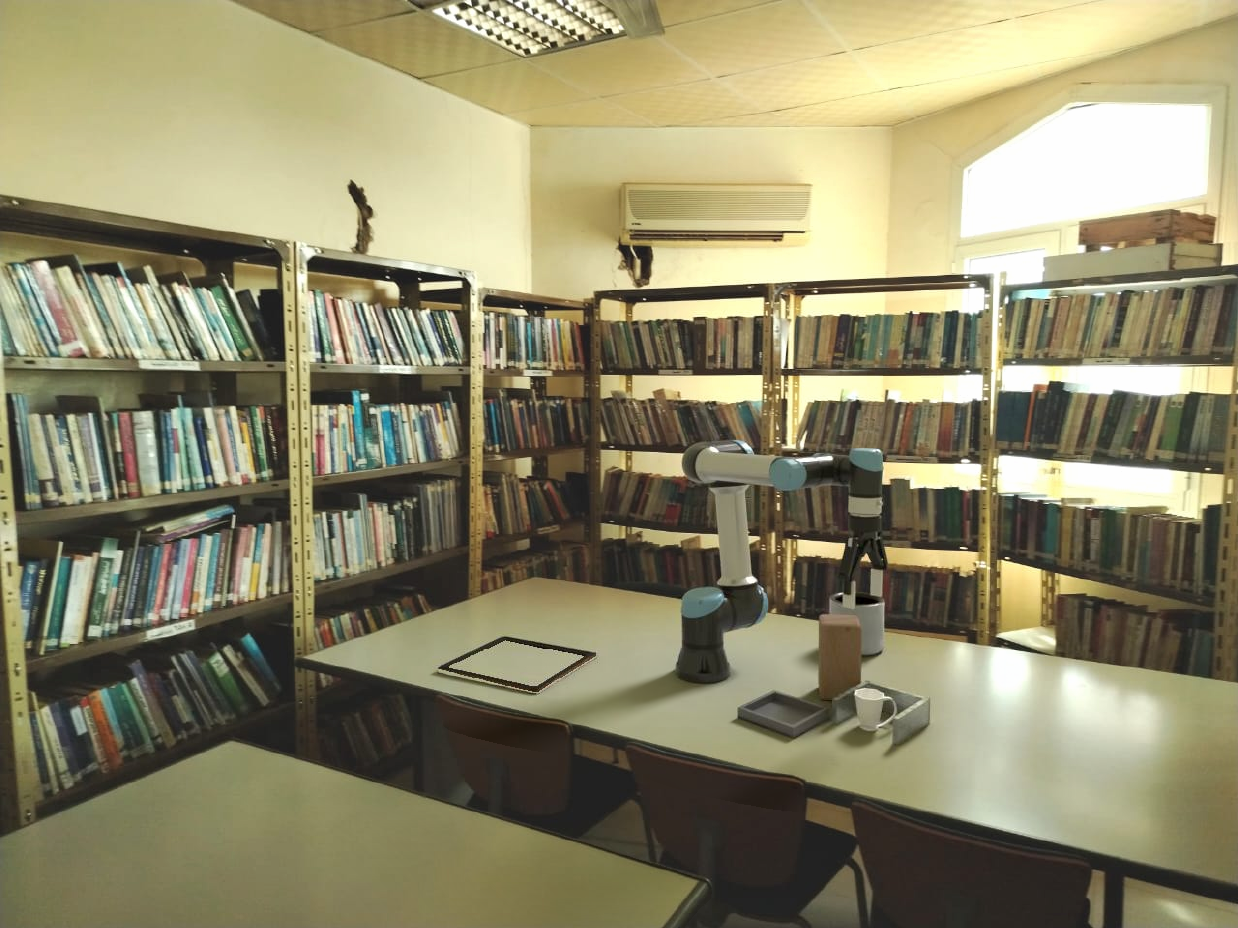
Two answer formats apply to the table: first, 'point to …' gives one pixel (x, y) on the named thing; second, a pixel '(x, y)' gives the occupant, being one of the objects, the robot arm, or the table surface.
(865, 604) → the planter
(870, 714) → the cup
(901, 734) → the bay
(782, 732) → the tray
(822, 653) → the wooden block
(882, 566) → the robot arm
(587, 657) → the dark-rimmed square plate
